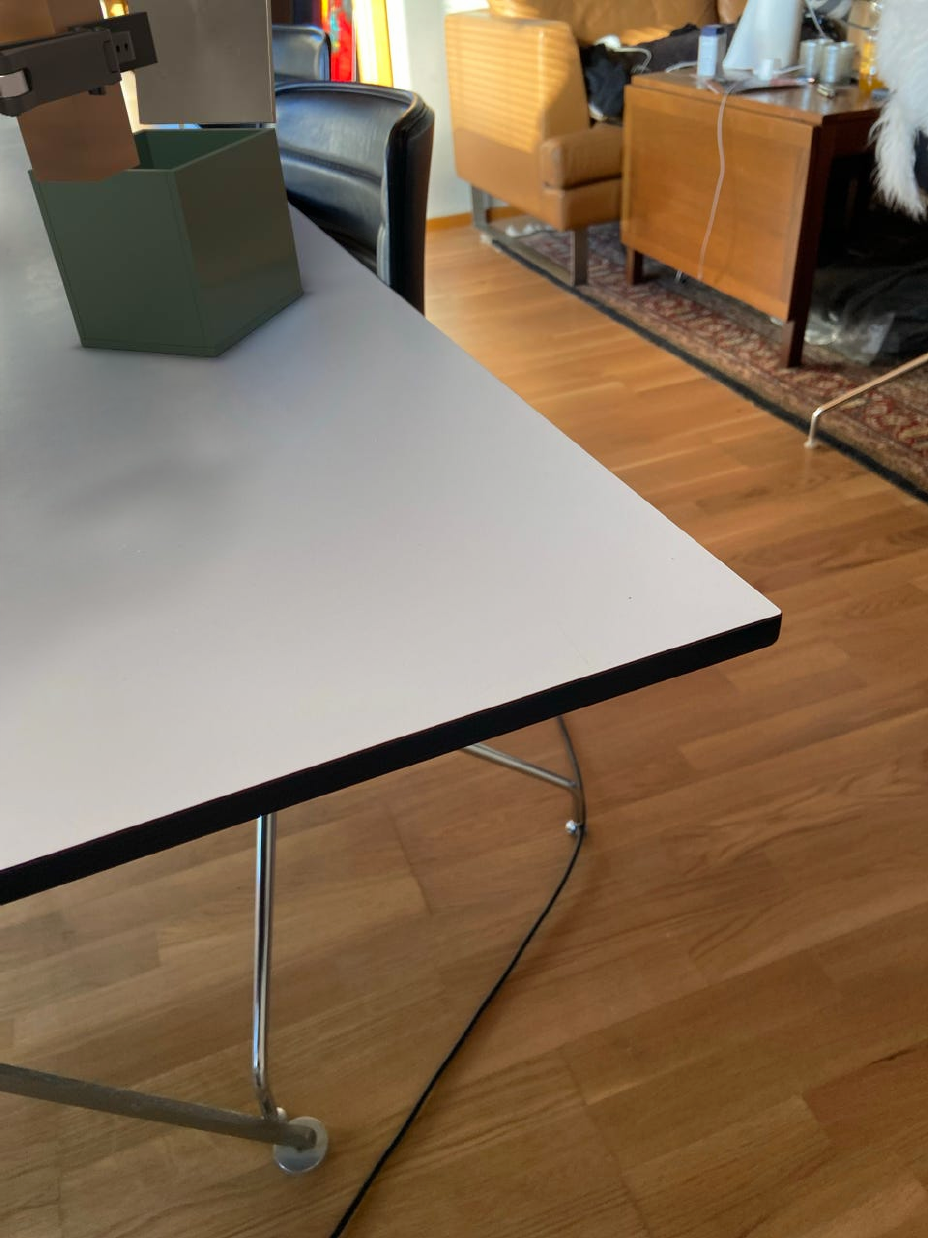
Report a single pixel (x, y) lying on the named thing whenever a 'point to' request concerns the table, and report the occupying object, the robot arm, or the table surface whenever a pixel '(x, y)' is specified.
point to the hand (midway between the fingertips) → (111, 38)
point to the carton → (70, 104)
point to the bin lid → (207, 63)
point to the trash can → (176, 242)
